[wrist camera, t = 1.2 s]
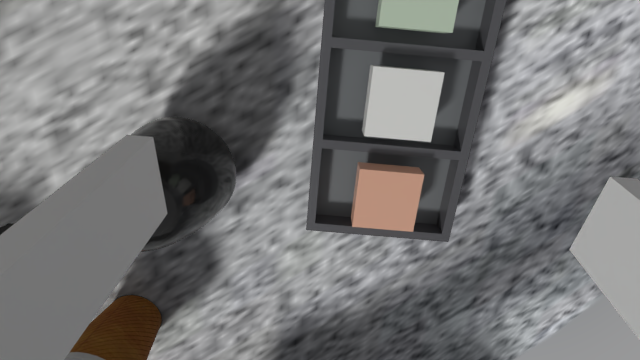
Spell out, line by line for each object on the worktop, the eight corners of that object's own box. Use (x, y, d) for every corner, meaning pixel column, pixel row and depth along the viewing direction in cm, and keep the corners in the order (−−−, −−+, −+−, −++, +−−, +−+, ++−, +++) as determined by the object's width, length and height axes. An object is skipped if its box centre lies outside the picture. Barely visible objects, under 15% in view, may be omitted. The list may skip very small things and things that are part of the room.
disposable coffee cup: (164, 355, 47) (112, 453, 36) (90, 331, 46) (12, 425, 34) (184, 299, 44) (134, 388, 32) (105, 272, 42) (25, 354, 31)
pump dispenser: (252, 120, 36) (203, 170, 22) (237, 213, 39) (186, 308, 25) (148, 96, 35) (27, 133, 21) (142, 193, 39) (36, 280, 25)
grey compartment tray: (436, 222, 39) (448, 241, 36) (308, 212, 39) (306, 229, 35) (498, -55, 30) (523, -69, 27) (331, -72, 30) (332, -88, 26)
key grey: (424, 136, 32) (430, 142, 30) (361, 130, 32) (364, 136, 30) (437, 70, 30) (444, 72, 28) (370, 64, 30) (373, 66, 28)
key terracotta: (408, 221, 35) (412, 231, 33) (350, 217, 35) (352, 226, 33) (418, 167, 33) (424, 174, 31) (357, 162, 33) (359, 169, 31)
